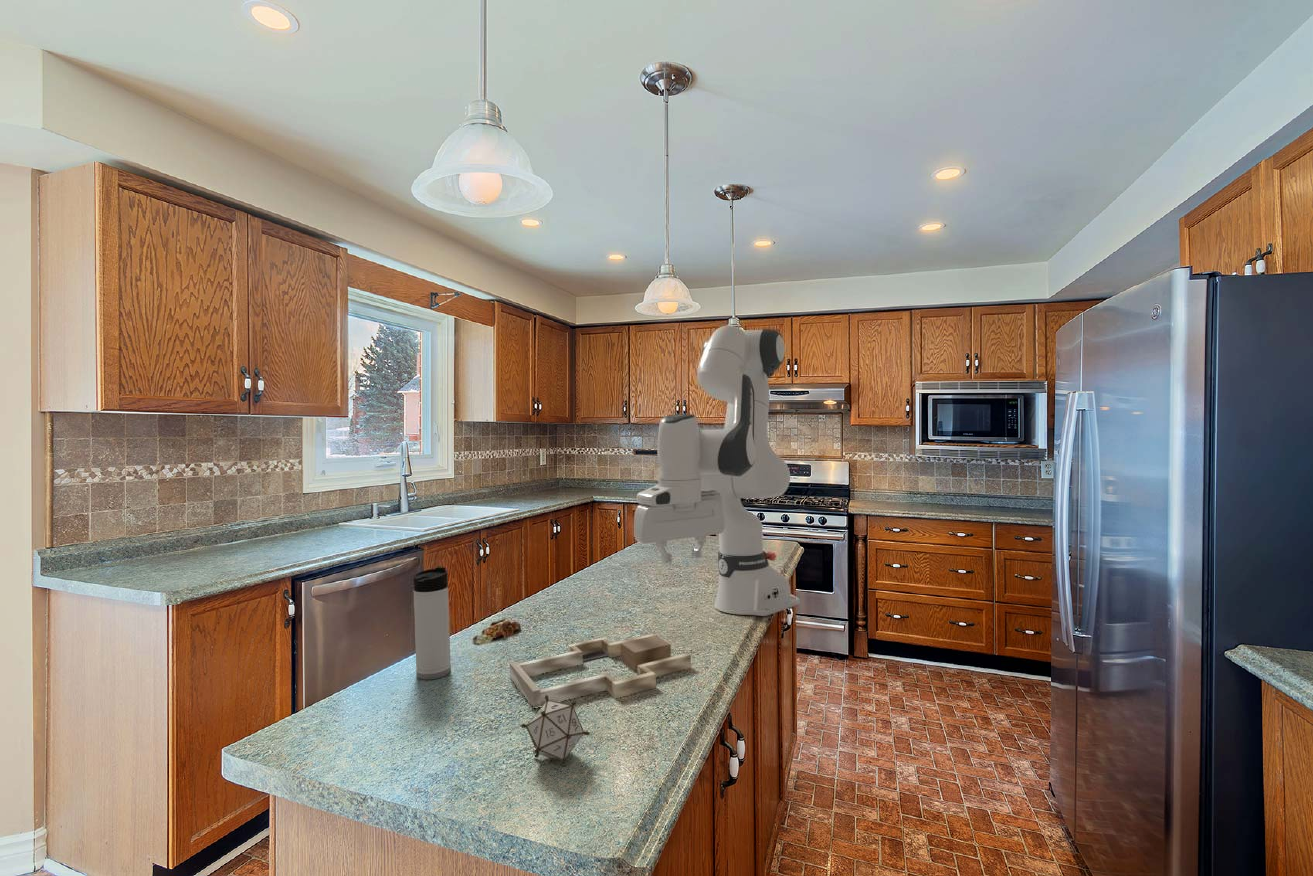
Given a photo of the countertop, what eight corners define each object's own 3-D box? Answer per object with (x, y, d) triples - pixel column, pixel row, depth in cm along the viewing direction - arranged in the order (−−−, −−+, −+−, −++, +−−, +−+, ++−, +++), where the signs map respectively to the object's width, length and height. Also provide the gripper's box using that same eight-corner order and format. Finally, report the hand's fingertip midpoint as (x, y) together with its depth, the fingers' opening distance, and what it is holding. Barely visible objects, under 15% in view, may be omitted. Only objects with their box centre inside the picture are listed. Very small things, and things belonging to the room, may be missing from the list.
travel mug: (458, 668, 117) (455, 567, 117) (436, 681, 111) (432, 575, 110) (432, 664, 119) (429, 565, 119) (409, 678, 113) (405, 573, 113)
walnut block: (656, 654, 122) (655, 635, 122) (670, 664, 117) (670, 644, 117) (621, 663, 118) (620, 643, 118) (635, 673, 113) (634, 652, 113)
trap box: (645, 639, 130) (645, 625, 130) (702, 675, 111) (702, 659, 111) (504, 671, 115) (503, 656, 115) (541, 719, 95) (541, 700, 95)
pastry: (466, 644, 131) (466, 628, 131) (500, 627, 142) (500, 612, 142) (491, 648, 129) (491, 632, 129) (524, 630, 139) (524, 615, 139)
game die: (546, 779, 85) (528, 708, 90) (601, 754, 86) (580, 685, 91) (526, 781, 77) (507, 704, 82) (586, 753, 78) (564, 678, 83)
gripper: (712, 488, 129) (714, 551, 129) (629, 495, 119) (630, 563, 119) (730, 490, 124) (731, 556, 124) (643, 498, 114) (645, 569, 114)
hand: (681, 560), depth 122 cm, fingers open, 6 cm apart
